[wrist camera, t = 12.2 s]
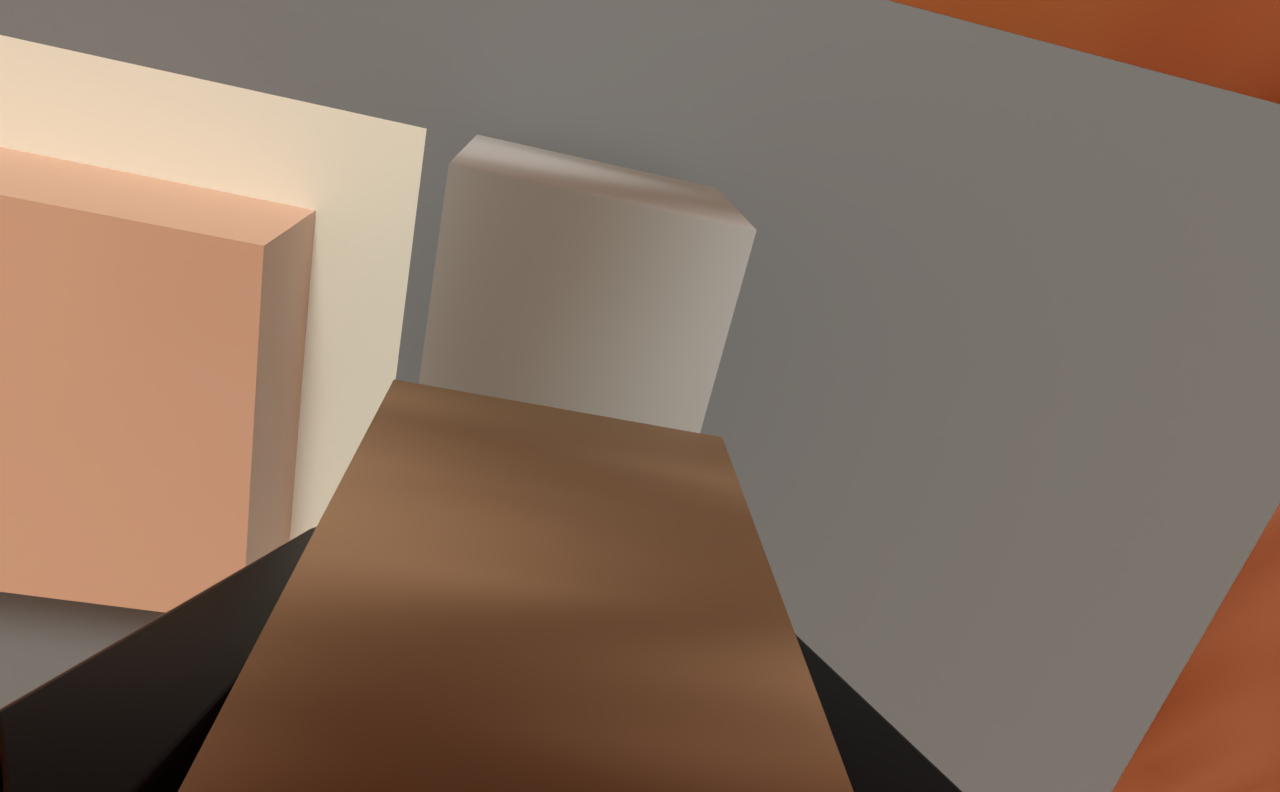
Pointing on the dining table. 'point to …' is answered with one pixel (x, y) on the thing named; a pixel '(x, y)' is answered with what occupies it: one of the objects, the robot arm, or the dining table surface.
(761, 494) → the board
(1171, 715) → the dining table surface
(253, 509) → the tile
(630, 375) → the wood block grey top
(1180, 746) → the dining table surface
